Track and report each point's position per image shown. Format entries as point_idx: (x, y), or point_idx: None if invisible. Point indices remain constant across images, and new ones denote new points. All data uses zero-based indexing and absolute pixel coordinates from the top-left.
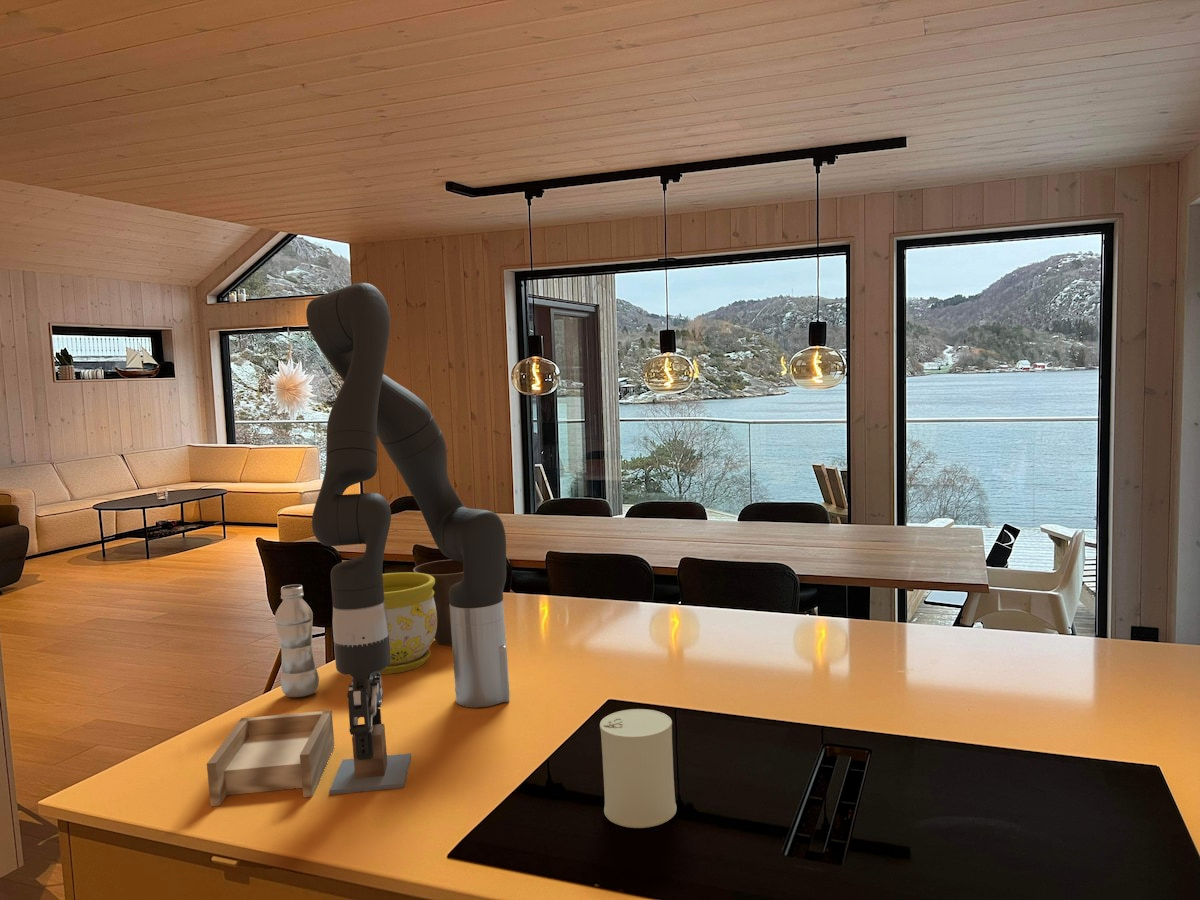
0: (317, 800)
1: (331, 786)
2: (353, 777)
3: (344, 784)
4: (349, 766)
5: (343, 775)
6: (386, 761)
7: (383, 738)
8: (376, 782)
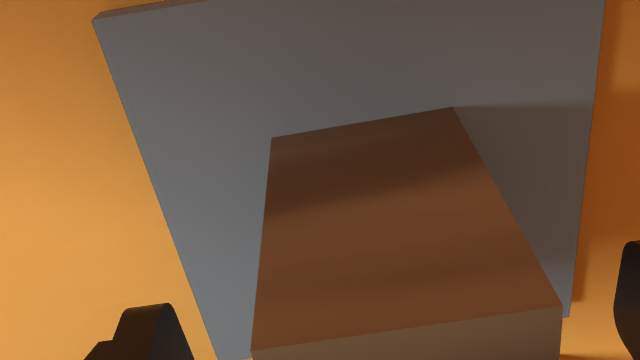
0: (600, 328)
1: None
2: None
3: None
4: None
5: None
6: (307, 145)
7: (386, 257)
8: (540, 126)
